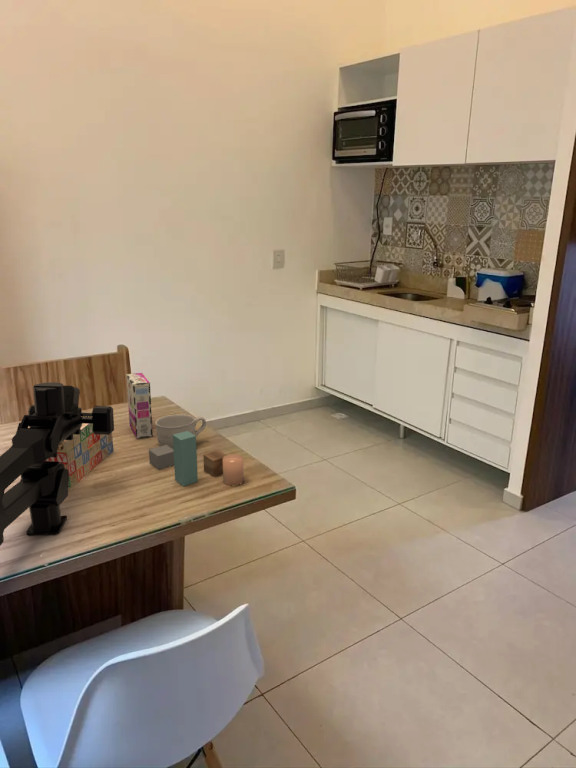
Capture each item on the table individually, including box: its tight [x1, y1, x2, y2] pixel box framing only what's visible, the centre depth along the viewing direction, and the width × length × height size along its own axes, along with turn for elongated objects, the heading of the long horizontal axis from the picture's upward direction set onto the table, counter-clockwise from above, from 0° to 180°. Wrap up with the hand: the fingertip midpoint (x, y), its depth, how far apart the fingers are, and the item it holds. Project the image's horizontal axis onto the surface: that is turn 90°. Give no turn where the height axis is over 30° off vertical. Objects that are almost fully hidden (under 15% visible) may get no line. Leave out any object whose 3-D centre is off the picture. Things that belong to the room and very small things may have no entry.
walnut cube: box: [202, 449, 227, 478], centre depth 145 cm, size 4×4×4 cm
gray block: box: [148, 445, 174, 471], centre depth 149 cm, size 5×5×4 cm
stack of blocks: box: [45, 423, 114, 488], centre depth 145 cm, size 21×6×12 cm, turn 169°
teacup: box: [154, 413, 207, 449], centre depth 159 cm, size 14×11×8 cm
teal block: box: [173, 431, 199, 487], centre depth 139 cm, size 4×4×12 cm
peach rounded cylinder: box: [222, 453, 245, 486], centre depth 140 cm, size 5×5×6 cm
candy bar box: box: [125, 372, 154, 440], centre depth 167 cm, size 11×5×16 cm, turn 25°
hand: (85, 410), depth 140 cm, fingers open, 9 cm apart
